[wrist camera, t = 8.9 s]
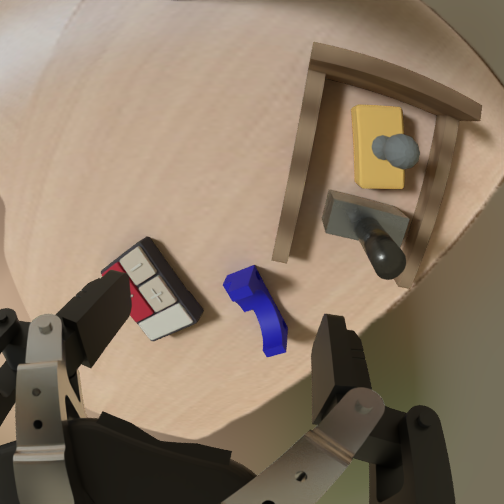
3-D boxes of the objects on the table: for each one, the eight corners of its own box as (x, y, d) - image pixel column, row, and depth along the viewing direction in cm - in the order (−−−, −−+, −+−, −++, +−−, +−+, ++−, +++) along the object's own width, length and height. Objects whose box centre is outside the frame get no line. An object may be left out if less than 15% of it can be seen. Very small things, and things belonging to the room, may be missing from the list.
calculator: (137, 242, 39) (196, 325, 42) (151, 233, 43) (205, 310, 46) (96, 273, 42) (150, 345, 45) (111, 263, 46) (160, 331, 49)
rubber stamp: (395, 183, 34) (434, 207, 23) (354, 183, 35) (379, 206, 24) (393, 109, 30) (433, 101, 19) (350, 107, 31) (375, 95, 20)
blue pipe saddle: (227, 274, 42) (217, 296, 37) (254, 264, 41) (248, 284, 36) (262, 334, 46) (257, 359, 41) (288, 326, 45) (286, 352, 39)
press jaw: (328, 189, 35) (348, 224, 22) (395, 206, 34) (443, 249, 21) (321, 218, 37) (335, 268, 23) (386, 234, 36) (427, 288, 23)
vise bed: (309, 60, 29) (313, 41, 22) (450, 107, 28) (482, 105, 20) (273, 251, 40) (267, 279, 32) (403, 278, 38) (421, 308, 31)
